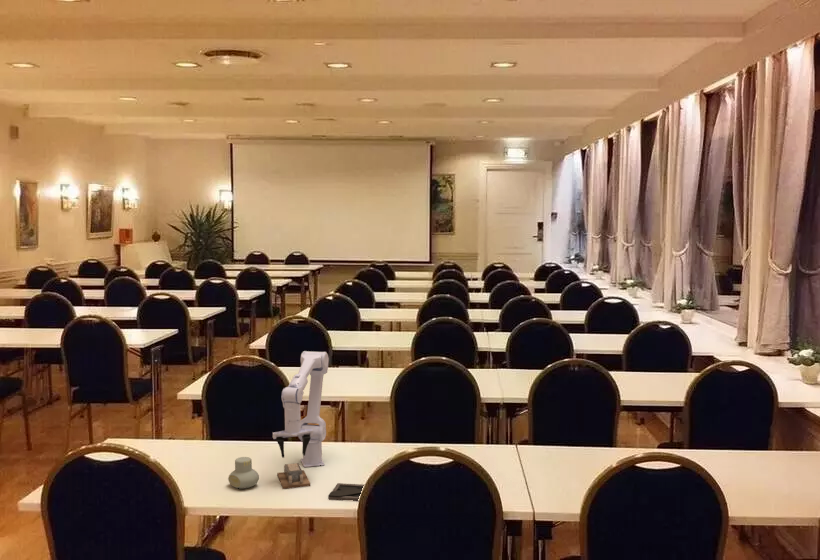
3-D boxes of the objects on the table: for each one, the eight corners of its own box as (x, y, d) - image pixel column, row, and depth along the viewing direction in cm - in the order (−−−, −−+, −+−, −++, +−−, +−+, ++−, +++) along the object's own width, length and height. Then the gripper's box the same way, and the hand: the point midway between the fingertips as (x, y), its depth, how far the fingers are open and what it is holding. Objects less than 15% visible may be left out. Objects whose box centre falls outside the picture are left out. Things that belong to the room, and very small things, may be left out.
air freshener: (225, 485, 289) (224, 458, 288) (243, 479, 295) (243, 453, 294) (243, 492, 282) (243, 465, 281) (262, 486, 288) (261, 459, 287)
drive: (285, 474, 297) (284, 463, 296) (298, 473, 298) (298, 462, 298) (288, 482, 288) (288, 471, 288) (302, 481, 290) (302, 470, 289)
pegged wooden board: (277, 475, 299) (277, 465, 299) (303, 472, 302) (303, 462, 302) (282, 489, 285) (282, 478, 284) (310, 486, 288) (310, 475, 287)
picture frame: (328, 501, 275) (379, 503, 272) (328, 495, 275) (379, 498, 272) (337, 487, 288) (386, 490, 285) (337, 482, 288) (386, 484, 285)
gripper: (274, 424, 285) (274, 461, 287) (314, 420, 289) (314, 457, 291) (271, 419, 292) (272, 455, 294) (311, 415, 296) (311, 451, 298)
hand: (293, 455), depth 293 cm, fingers open, 7 cm apart
